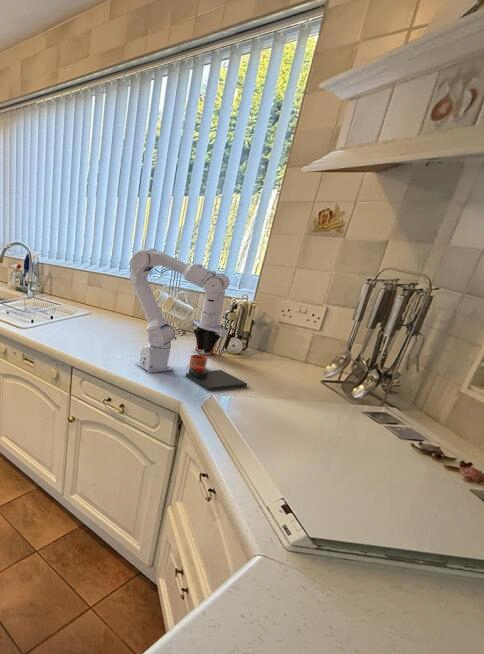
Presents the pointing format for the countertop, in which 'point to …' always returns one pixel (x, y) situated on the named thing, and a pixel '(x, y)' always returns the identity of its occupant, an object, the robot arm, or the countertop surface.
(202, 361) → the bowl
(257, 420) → the countertop surface
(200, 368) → the button
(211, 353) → the soda can
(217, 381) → the scale
